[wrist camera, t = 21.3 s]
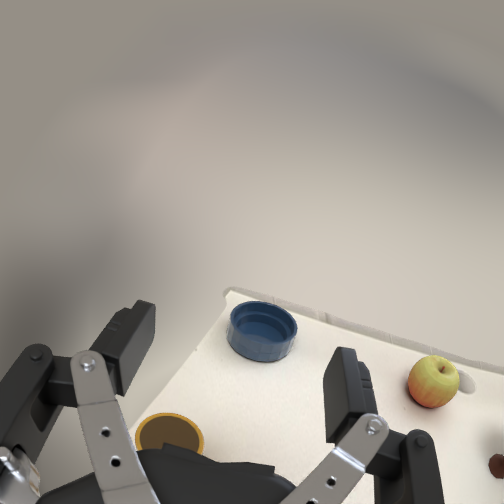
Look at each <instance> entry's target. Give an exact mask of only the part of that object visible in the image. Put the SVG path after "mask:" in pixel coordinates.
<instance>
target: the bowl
mask: <svg viewBox="0 0 504 504" xmlns="http://www.w3.org/2000/svg"><path fill="white" fill-rule="evenodd" d="M296 333H297V324H296V321H295V320H294V318H293V317H292V316H291V315H290V314H289V313H288V312H287V311H286V310H284V309H282V308H280V307H278V306H277V305H274V304H270V303H267V302H260V301H249V302H245V303H242V304H239V305H238V306H236V307H235V308H234V309H233V310H232V312H231V314H230V319H229V324H228V329H227V339H228V341H229V343H230V345H231V346H232V347H233V348H234V349H235V351H236V352H238V353H240V354H241V355H243V356H245V357H246V358H249V359H252V360H256V361H264V362H269V361H275V360H279V359H281V358H283V357H285V356H286V355H287V354H288V352H289V351H290V349H291V347H292V344H293V341H294V339H295V336H296Z"/></svg>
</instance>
